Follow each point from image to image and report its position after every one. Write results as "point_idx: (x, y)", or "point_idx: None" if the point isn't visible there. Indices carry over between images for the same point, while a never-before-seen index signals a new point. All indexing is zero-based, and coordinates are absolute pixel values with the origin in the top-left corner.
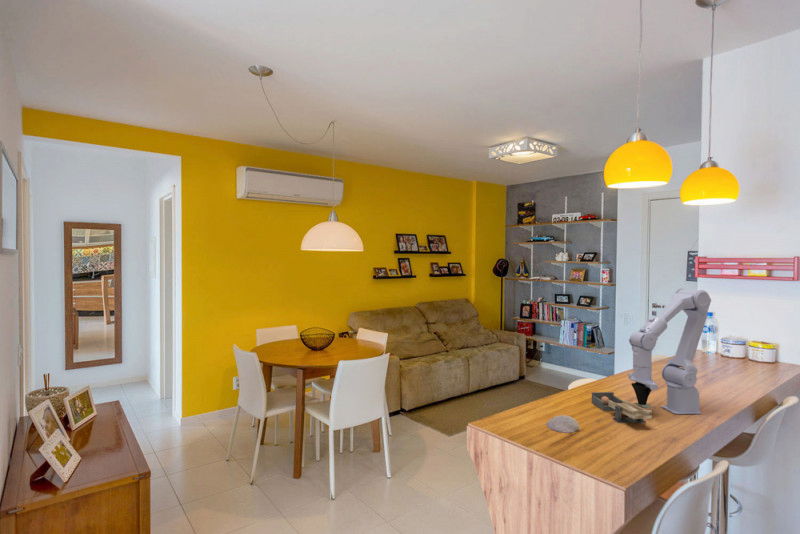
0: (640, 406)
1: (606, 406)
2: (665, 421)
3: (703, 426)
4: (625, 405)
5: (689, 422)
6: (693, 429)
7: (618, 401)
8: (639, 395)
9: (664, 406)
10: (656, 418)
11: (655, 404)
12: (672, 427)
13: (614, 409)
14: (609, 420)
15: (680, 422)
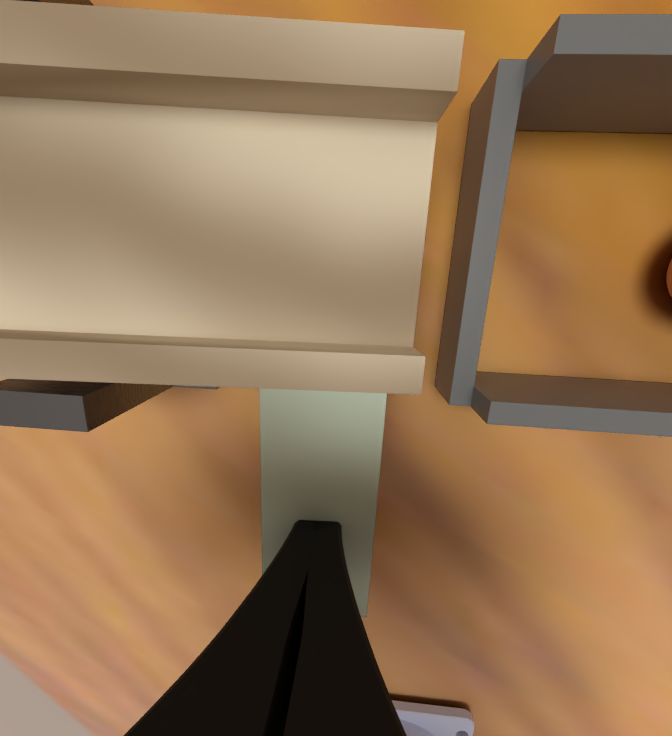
0: (32, 417)
1: (488, 119)
2: (161, 543)
3: (88, 690)
4: (263, 299)
5: (151, 667)
6: (25, 610)
7: (607, 397)
8: (214, 642)
9: (444, 726)
10: (224, 523)
11: (538, 706)
12: (40, 513)
13: (457, 256)
14: (157, 3)
15: (147, 620)
